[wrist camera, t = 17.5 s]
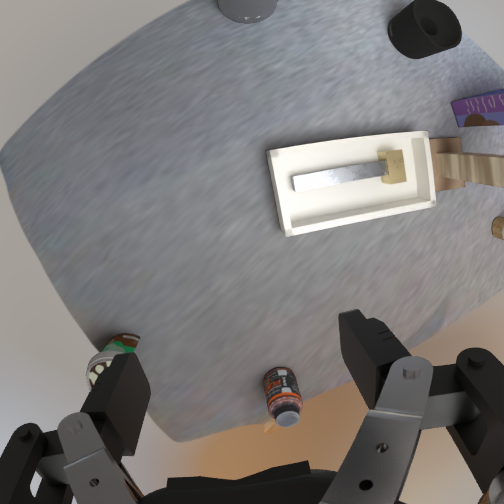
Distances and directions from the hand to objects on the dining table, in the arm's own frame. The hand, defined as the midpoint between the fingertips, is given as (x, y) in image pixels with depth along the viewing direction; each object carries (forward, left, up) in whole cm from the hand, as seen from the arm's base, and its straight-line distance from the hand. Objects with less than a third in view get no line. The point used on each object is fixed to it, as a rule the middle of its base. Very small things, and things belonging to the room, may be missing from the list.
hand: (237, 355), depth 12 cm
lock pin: (-6, +16, -37) cm, 41 cm away
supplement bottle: (+31, +10, -38) cm, 50 cm away
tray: (-6, +18, -38) cm, 42 cm away
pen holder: (-33, +28, -38) cm, 58 cm away
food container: (+26, -20, -38) cm, 50 cm away
